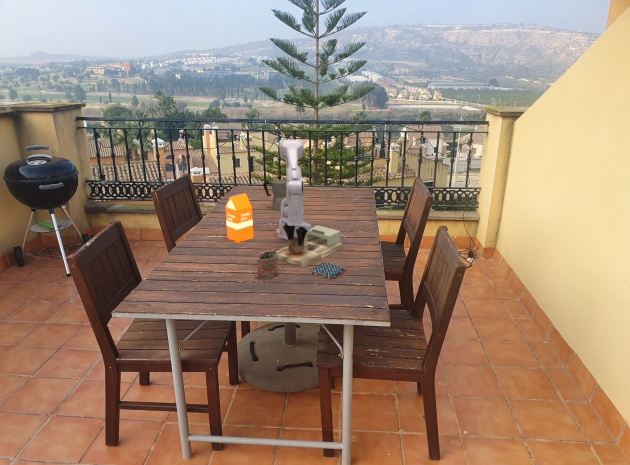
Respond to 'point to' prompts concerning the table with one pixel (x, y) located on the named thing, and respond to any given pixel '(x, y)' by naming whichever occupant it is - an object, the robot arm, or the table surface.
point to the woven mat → (327, 270)
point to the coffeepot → (277, 192)
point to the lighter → (267, 264)
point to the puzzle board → (308, 252)
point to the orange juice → (239, 218)
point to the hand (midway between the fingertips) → (295, 243)
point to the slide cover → (324, 234)
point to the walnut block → (295, 245)
